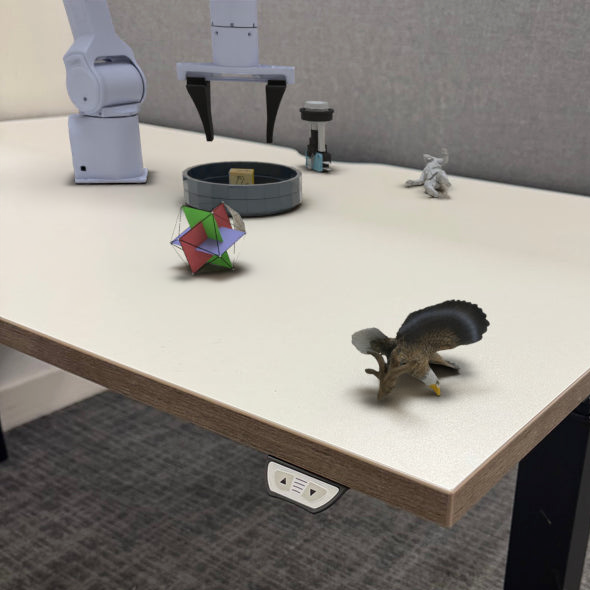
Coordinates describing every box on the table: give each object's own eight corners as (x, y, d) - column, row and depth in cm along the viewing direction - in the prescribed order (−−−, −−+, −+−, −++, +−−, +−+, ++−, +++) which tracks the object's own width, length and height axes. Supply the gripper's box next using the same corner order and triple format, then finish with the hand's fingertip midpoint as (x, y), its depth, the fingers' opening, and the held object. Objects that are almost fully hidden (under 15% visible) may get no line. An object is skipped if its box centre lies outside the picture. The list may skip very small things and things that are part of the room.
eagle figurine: (446, 412, 52) (510, 348, 58) (391, 320, 51) (464, 263, 57) (374, 430, 58) (439, 370, 64) (323, 348, 56) (395, 294, 62)
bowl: (184, 219, 96) (181, 186, 94) (185, 190, 109) (182, 160, 107) (308, 217, 100) (308, 185, 98) (295, 189, 113) (294, 160, 111)
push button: (344, 172, 124) (344, 105, 120) (314, 175, 122) (313, 106, 117) (323, 164, 129) (323, 99, 124) (294, 167, 126) (293, 100, 122)
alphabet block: (231, 190, 108) (230, 167, 107) (254, 190, 108) (253, 168, 107) (229, 195, 105) (228, 172, 104) (253, 195, 106) (252, 172, 104)
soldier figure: (409, 204, 112) (395, 161, 120) (430, 224, 115) (414, 180, 123) (452, 168, 109) (434, 126, 117) (472, 189, 112) (453, 147, 120)
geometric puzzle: (195, 267, 74) (227, 190, 74) (143, 253, 77) (175, 178, 77) (239, 295, 80) (268, 223, 81) (190, 280, 83) (218, 211, 84)
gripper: (294, 27, 101) (296, 137, 107) (179, 22, 100) (188, 134, 106) (293, 30, 95) (295, 146, 101) (169, 25, 94) (179, 143, 100)
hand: (240, 141), depth 103 cm, fingers open, 7 cm apart
